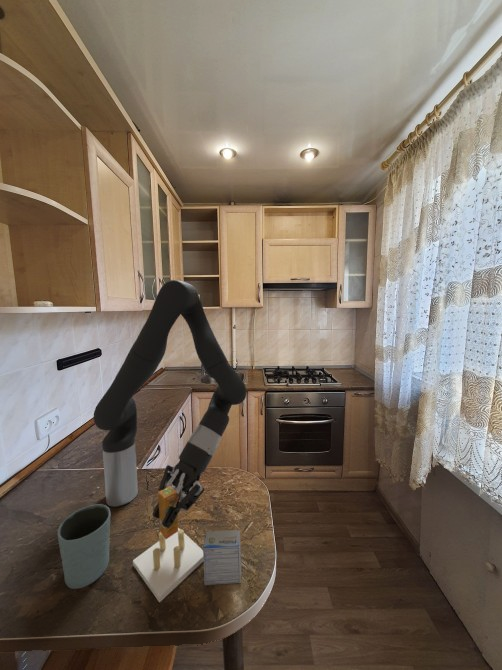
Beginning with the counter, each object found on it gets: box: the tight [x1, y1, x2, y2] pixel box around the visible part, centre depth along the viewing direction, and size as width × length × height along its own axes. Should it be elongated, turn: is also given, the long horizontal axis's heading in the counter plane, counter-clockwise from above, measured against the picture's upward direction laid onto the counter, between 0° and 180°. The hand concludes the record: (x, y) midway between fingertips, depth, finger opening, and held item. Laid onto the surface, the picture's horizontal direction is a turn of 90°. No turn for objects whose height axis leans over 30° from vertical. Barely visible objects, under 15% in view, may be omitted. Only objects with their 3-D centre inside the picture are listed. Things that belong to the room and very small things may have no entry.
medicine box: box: [202, 529, 242, 586], centre depth 55 cm, size 8×4×9 cm, turn 92°
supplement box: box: [157, 486, 179, 539], centre depth 58 cm, size 3×3×10 cm
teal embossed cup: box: [56, 503, 111, 590], centre depth 57 cm, size 10×10×12 cm
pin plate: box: [132, 527, 204, 603], centre depth 58 cm, size 12×12×5 cm
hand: (160, 521), depth 56 cm, fingers closed on supplement box, 3 cm apart
